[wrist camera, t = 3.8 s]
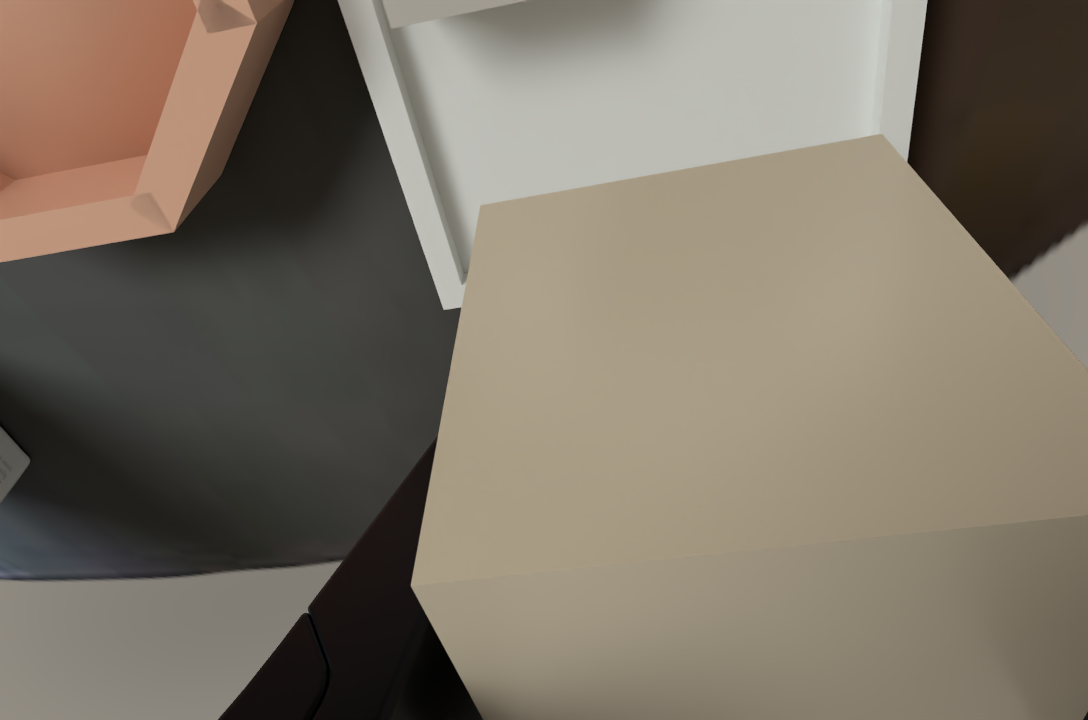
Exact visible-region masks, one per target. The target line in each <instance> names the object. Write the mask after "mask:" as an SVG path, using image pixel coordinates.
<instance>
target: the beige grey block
mask: <svg viewBox="0 0 1088 720" xmlns="http://www.w3.org/2000/svg"><path fill="white" fill-rule="evenodd" d="M523 1H528V0H383V4H384V7H385V10H386V14H387V17H388V20H389V23H390V27H391V29H392V28H397V27H402V26H407V25H411V24H416V23H421V22H426V21H431V20H436V19H440V18H445V17H450V16H455V15H460V14H465V13H470V12H474V11H479V10H484V9H489V8H494V7H499V6H503V5H508V4H513V3H518V2H523Z"/></svg>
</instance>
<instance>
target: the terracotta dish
mask: <svg viewBox="0 0 1088 720" xmlns="http://www.w3.org/2000/svg"><path fill="white" fill-rule="evenodd" d="M294 1H295V0H0V262H5V261H11V260H17V259H22V258H28V257H34V256H40V255H45V254H51V253H57V252H63V251H68V250H74V249H80V248H86V247H91V246H97V245H103V244H108V243H114V242H120V241H126V240H131V239H137V238H143V237H149V236H154V235H160V234H166V233H172V232H175V230H176V229H177V228H178V227H179V226H180V224H181V223H182V222H183V221H184V220H185V218H186V217H187V216H188V215H189V213H190V212H191V211H192V210H193V209H194V207H195V206H196V205H197V204H198V203H199V201H200V200H201V199H202V198H203V196H204V195H205V194H206V193H207V192H208V190H209V189H210V188H211V187H212V186H213V184H214V183H215V182H216V181H217V179H218V178H219V177H220V176H221V175H222V172H223V170H224V167H225V165H226V163H227V160H228V158H229V155H230V153H231V151H232V148H233V146H234V144H235V141H236V139H237V136H238V134H239V132H240V129H241V127H242V125H243V122H244V120H245V117H246V115H247V113H248V110H249V108H250V106H251V103H252V101H253V98H254V96H255V94H256V91H257V89H258V87H259V84H260V82H261V79H262V77H263V75H264V72H265V70H266V67H267V65H268V63H269V60H270V58H271V56H272V53H273V51H274V48H275V46H276V44H277V41H278V39H279V37H280V34H281V32H282V29H283V27H284V25H285V22H286V20H287V18H288V15H289V13H290V10H291V8H292V6H293V3H294Z"/></svg>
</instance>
